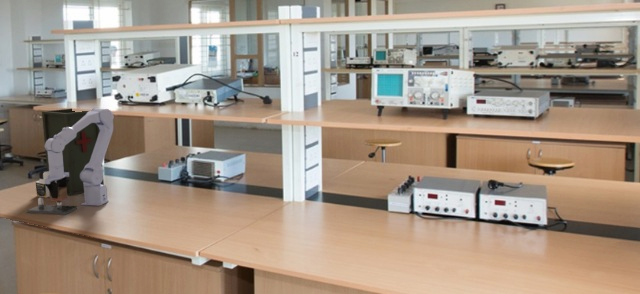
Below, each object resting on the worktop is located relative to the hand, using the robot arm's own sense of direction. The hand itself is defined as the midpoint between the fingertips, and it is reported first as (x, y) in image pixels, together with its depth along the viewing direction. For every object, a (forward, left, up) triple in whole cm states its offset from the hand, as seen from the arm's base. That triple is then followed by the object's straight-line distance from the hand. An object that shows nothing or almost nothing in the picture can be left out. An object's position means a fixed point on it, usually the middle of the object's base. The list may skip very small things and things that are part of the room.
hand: (58, 196), depth 246 cm
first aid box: (+15, -37, -7) cm, 41 cm away
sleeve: (0, 0, -1) cm, 1 cm away
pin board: (+3, 0, -7) cm, 8 cm away
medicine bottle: (+22, -24, -7) cm, 34 cm away
